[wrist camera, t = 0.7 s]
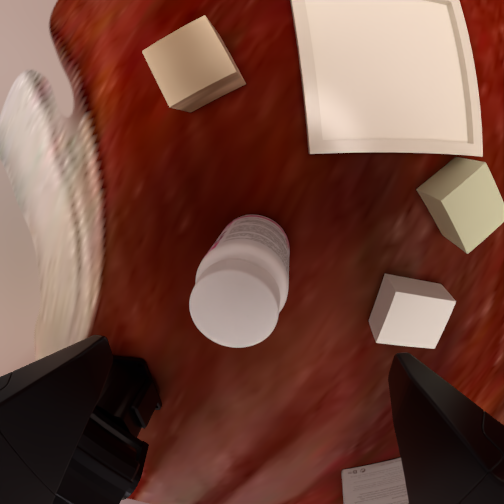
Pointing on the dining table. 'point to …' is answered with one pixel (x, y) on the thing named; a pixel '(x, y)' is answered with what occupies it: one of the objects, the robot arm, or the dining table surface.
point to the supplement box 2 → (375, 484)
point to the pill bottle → (242, 283)
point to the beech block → (193, 66)
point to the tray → (387, 77)
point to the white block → (410, 312)
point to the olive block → (464, 202)
